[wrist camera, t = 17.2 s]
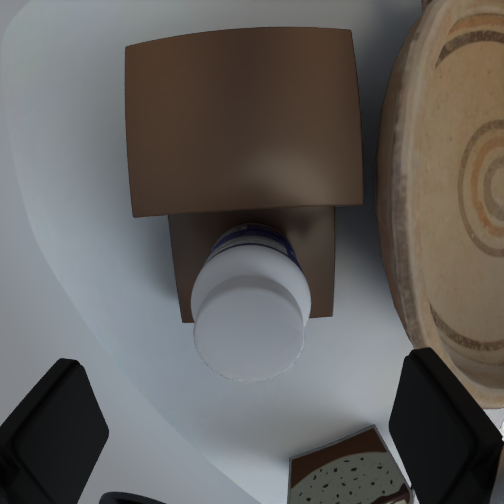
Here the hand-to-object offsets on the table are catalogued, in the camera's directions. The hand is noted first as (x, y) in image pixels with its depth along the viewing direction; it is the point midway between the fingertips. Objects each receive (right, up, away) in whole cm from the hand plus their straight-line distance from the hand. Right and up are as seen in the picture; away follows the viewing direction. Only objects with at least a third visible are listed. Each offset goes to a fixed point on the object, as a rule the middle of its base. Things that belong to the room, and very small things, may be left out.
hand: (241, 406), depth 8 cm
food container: (+10, -17, +20) cm, 28 cm away
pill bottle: (0, +4, +12) cm, 12 cm away
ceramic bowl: (+20, +10, +12) cm, 25 cm away
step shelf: (0, +8, +13) cm, 15 cm away
